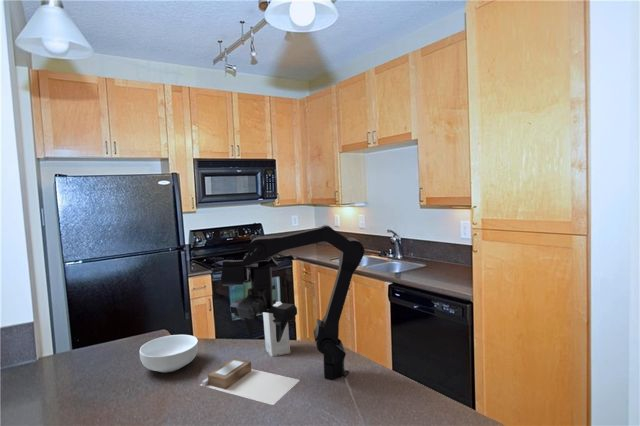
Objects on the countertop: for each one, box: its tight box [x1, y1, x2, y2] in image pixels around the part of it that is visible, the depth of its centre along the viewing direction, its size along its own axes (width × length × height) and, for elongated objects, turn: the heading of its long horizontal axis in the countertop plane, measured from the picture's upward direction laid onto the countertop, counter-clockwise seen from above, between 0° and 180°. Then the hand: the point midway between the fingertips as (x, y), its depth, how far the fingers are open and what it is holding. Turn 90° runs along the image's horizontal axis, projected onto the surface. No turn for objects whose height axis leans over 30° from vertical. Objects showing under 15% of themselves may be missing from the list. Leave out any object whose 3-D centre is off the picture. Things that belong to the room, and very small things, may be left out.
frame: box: [207, 357, 252, 390], centre depth 107 cm, size 11×6×3 cm, turn 153°
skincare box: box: [262, 301, 291, 357], centre depth 124 cm, size 8×7×16 cm
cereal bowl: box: [139, 334, 199, 374], centre depth 117 cm, size 17×17×7 cm
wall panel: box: [200, 368, 301, 406], centre depth 104 cm, size 13×24×2 cm, turn 63°
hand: (264, 339), depth 105 cm, fingers open, 9 cm apart
